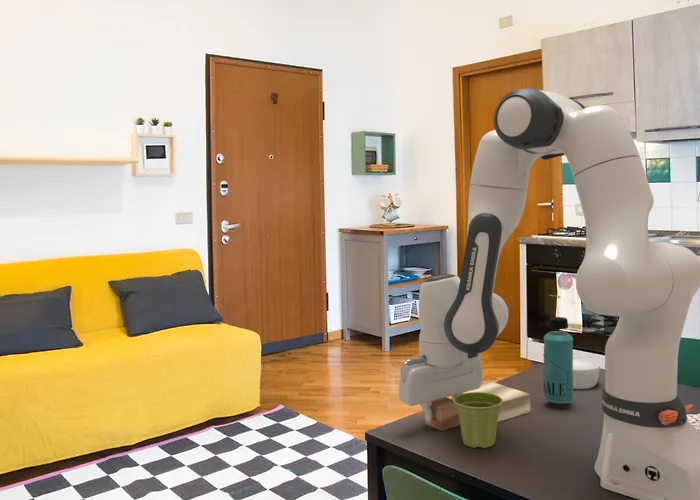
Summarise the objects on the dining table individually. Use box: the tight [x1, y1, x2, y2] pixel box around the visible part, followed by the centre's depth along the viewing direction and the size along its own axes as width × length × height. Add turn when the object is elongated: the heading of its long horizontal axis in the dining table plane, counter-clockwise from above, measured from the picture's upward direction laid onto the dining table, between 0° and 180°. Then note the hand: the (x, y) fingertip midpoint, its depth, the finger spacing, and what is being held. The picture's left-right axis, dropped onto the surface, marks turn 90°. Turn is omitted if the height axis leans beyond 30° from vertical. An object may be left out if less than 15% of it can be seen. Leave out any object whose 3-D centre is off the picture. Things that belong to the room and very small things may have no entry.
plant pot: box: [453, 392, 503, 449], centre depth 125 cm, size 9×9×9 cm
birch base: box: [451, 381, 531, 423], centre depth 143 cm, size 12×12×4 cm
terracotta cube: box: [424, 397, 460, 431], centre depth 136 cm, size 5×5×5 cm
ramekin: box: [573, 357, 601, 390], centre depth 160 cm, size 11×11×5 cm
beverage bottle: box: [542, 316, 574, 404], centre depth 144 cm, size 6×7×20 cm
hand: (442, 417), depth 136 cm, fingers closed on terracotta cube, 5 cm apart
